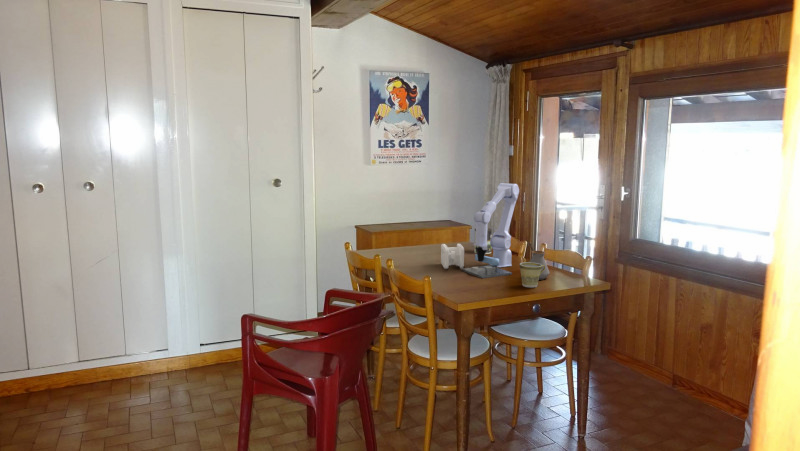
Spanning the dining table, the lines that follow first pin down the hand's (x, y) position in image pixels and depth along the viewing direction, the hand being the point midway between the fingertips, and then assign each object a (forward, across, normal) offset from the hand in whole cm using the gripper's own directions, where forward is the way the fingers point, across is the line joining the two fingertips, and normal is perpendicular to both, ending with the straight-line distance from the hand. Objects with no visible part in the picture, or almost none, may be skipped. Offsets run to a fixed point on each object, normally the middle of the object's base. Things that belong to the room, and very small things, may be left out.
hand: (480, 261), depth 286 cm
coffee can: (+5, -45, +14) cm, 48 cm away
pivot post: (+5, +6, +6) cm, 10 cm away
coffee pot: (+5, +13, +24) cm, 28 cm away
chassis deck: (+5, +5, +2) cm, 7 cm away
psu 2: (+5, +9, -4) cm, 11 cm away
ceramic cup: (+5, +32, +16) cm, 36 cm away
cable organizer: (+5, -9, -13) cm, 16 cm away
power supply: (+5, +7, +2) cm, 9 cm away
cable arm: (+1, 0, +3) cm, 3 cm away
